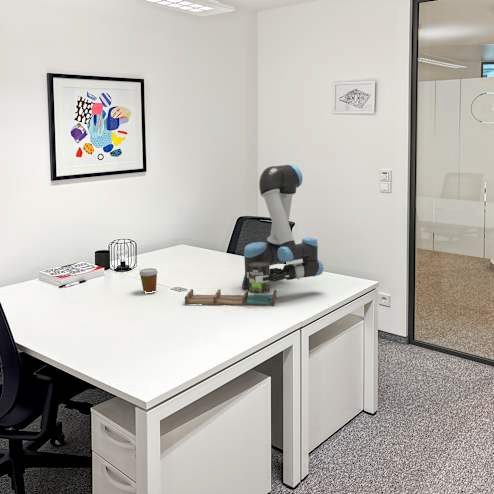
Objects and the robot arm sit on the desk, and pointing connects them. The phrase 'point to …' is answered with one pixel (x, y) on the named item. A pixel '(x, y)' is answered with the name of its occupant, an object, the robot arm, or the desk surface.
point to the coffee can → (255, 271)
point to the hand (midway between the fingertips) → (251, 277)
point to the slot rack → (231, 299)
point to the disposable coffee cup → (149, 279)
